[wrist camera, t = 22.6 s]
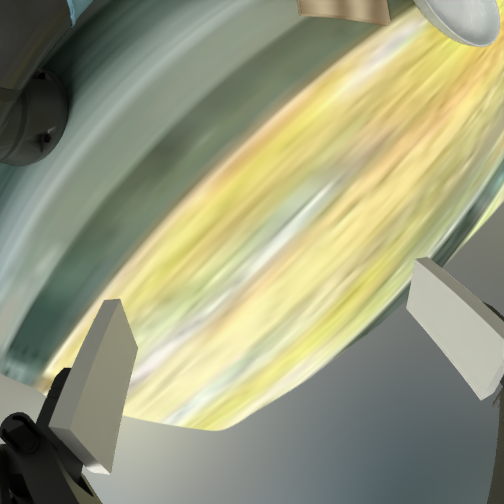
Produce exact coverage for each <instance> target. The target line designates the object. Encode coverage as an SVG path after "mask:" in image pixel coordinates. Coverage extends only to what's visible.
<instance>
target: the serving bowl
mask: <svg viewBox="0 0 504 504" xmlns="http://www.w3.org/2000/svg"><path fill="white" fill-rule="evenodd" d="M413 1H414V2H415V4H416V6H417V7H418V8H419V10H420V11H421V13H422V14H423V15H424V16H425V17H426V19H427V20H428V21H429V22H430V23H431V24H432V25H433V26H434V27H436V28H437V29H438V30H439V31H440V32H442V33H443V34H444V35H446V36H447V37H449V38H451V39H453V40H455V41H457V42H459V43H462V44H465V45H469V46H475V47H486V46H489V45H491V44H492V43H493V42H494V41H495V40H496V38H497V36H498V34H499V30H500V15H499V10H498V6H497V3H496V0H413Z"/></svg>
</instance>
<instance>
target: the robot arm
mask: <svg viewBox="0 0 504 504" xmlns="http://www.w3.org/2000/svg"><path fill="white" fill-rule="evenodd" d="M92 1H93V0H0V163H4V164H8V165H12V166H26V165H29V164H32V163H35V162H38V161H40V160H42V159H43V158H45V157H46V156H47V155H48V154H49V153H50V152H51V151H52V150H53V149H54V148H55V146H56V145H57V143H58V142H59V140H60V138H61V136H62V134H63V131H64V128H65V125H66V121H67V116H68V98H67V93H66V90H65V87H64V85H63V83H62V81H61V80H60V79H59V77H58V76H57V75H56V74H54V73H53V72H51V71H49V70H47V69H43V68H39V67H40V65H41V64H42V62H43V61H44V60H45V58H46V57H47V56H48V54H49V53H50V52H51V50H52V49H53V48H54V46H55V45H56V44H57V43H58V41H59V40H60V39H61V38H62V36H63V35H64V34H65V33H66V32H67V30H68V29H69V28H72V27H73V26H74V25H75V23H76V20H77V19H78V18H79V16H80V15H81V14H82V13H83V12H84V11H85V10H86V8H87V7H88V6H89V5H90V4H91V3H92ZM406 308H407V310H408V311H409V312H410V313H411V314H412V315H413V317H414V318H415V319H416V320H417V321H418V322H419V324H420V325H421V326H422V327H423V328H424V329H425V331H426V332H427V333H428V334H429V335H430V336H431V338H432V339H433V340H434V341H435V343H436V344H437V345H438V346H439V347H440V349H441V350H442V351H443V352H444V353H445V355H446V356H447V357H448V358H449V359H450V361H451V362H452V363H453V365H454V366H455V367H456V368H457V370H458V371H459V372H460V373H461V375H462V376H463V377H464V379H465V380H466V381H467V383H468V384H469V385H470V387H471V388H472V389H473V391H474V392H475V393H476V395H477V396H478V397H479V399H480V400H482V399H484V398H486V397H487V396H489V395H491V394H492V393H494V391H495V389H496V388H497V386H498V384H499V382H500V383H501V384H502V385H503V388H502V390H501V391H500V393H499V394H498V396H497V398H496V399H495V401H494V402H493V407H495V405H496V404H497V402H498V401H499V400H500V404H499V405H498V408H500V415H499V430H498V441H497V450H496V458H495V465H494V471H493V477H492V483H491V488H490V493H489V497H488V501H487V504H504V317H503V316H502V315H500V313H499V312H498V311H497V310H495V309H494V308H493V307H492V306H490V305H488V304H486V303H484V302H481V301H480V300H479V299H478V298H477V297H476V296H475V295H473V294H472V293H471V292H470V291H469V290H468V289H466V288H465V287H464V286H463V285H462V284H460V283H459V282H458V281H457V280H456V279H454V278H453V277H452V276H451V275H450V274H448V273H447V272H446V271H445V270H443V269H442V268H441V267H440V266H438V265H437V264H436V263H435V262H433V261H432V260H431V259H429V258H428V257H424V258H418V259H415V263H414V269H413V275H412V281H411V287H410V292H409V297H408V303H407V307H406ZM137 351H138V347H137V345H136V342H135V339H134V337H133V334H132V331H131V329H130V326H129V323H128V320H127V318H126V315H125V312H124V309H123V306H122V303H121V300H120V299H113V300H104V302H103V304H102V306H101V308H100V309H99V311H98V313H97V315H96V317H95V319H94V321H93V323H92V325H91V327H90V330H89V332H88V334H87V336H86V338H85V340H84V342H83V344H82V346H81V348H80V351H79V353H78V355H77V357H76V359H75V362H74V364H73V366H72V368H63V369H62V370H61V372H60V373H59V374H58V375H57V376H56V377H55V379H54V381H53V383H52V386H51V390H49V393H48V395H47V398H46V400H45V402H44V404H43V407H42V409H41V412H40V414H39V417H38V419H37V422H36V424H35V423H34V422H33V420H32V419H31V418H30V417H29V416H28V415H27V414H25V413H23V412H17V413H14V414H11V415H9V416H8V417H7V418H5V420H4V421H3V422H2V424H1V426H0V438H1V439H2V440H3V441H4V442H5V443H6V444H0V504H102V502H101V501H100V499H99V498H98V496H97V495H96V493H95V492H94V490H93V489H92V487H91V485H90V484H89V482H88V480H87V479H86V477H85V476H84V475H83V474H82V473H81V472H82V467H83V465H84V466H85V467H87V468H88V469H89V470H90V471H91V472H94V473H102V474H111V470H112V465H113V458H114V453H115V448H116V442H117V437H118V432H119V427H120V422H121V418H122V413H123V408H124V404H125V399H126V395H127V391H128V386H129V382H130V378H131V374H132V370H133V366H134V362H135V358H136V354H137Z"/></svg>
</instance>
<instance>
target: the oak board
mask: <svg viewBox="0 0 504 504" xmlns="http://www.w3.org/2000/svg"><path fill="white" fill-rule="evenodd" d="M297 3H298V11H299V16H315V17H328V18H338V19H346V20H354V21H361V22H368V23H374V24H379V25H385V26H387V25H389V24H391V21H390V15H389V10H388V4H387V0H297Z"/></svg>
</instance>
